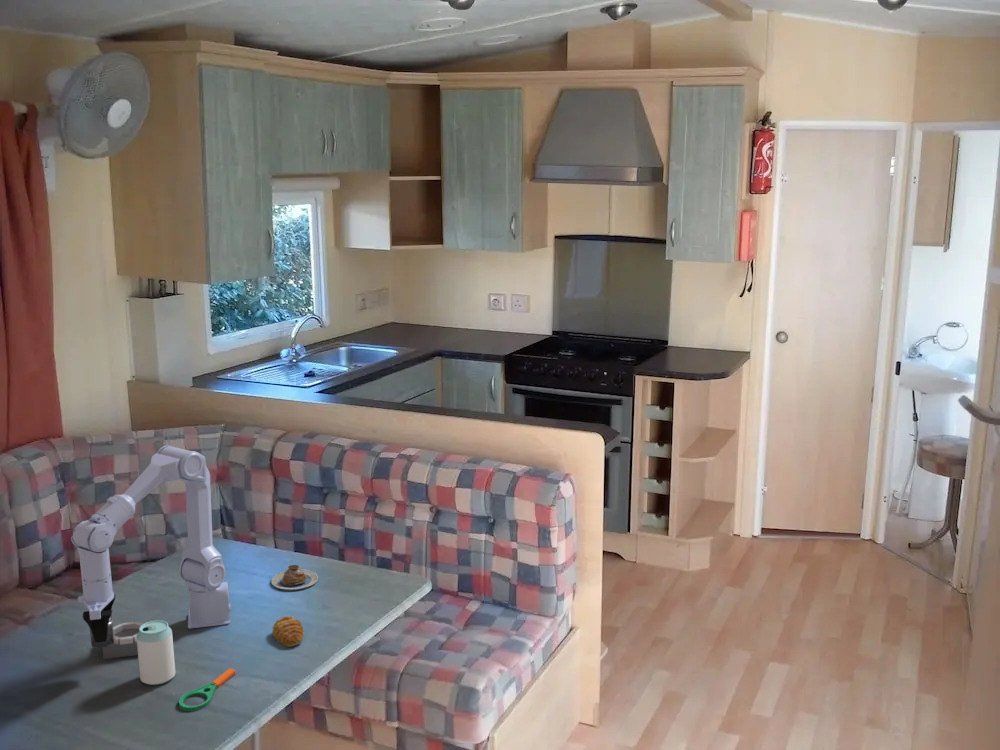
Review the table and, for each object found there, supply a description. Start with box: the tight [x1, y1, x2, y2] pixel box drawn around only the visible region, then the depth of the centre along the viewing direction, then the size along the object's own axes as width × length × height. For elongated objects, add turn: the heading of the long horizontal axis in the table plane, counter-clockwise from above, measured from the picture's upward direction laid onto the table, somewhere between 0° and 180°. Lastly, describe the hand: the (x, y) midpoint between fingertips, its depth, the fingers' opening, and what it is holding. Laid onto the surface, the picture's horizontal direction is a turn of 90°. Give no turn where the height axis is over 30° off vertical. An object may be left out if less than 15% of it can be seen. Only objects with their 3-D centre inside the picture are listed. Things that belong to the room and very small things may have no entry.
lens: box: [88, 613, 114, 649], centre depth 206 cm, size 5×5×6 cm
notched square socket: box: [101, 621, 144, 660], centre depth 218 cm, size 10×8×4 cm
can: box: [137, 620, 176, 686], centre depth 204 cm, size 7×7×12 cm
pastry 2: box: [270, 564, 319, 592], centre depth 251 cm, size 12×12×5 cm
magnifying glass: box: [178, 667, 236, 712], centre depth 200 cm, size 15×6×2 cm, turn 157°
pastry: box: [272, 615, 305, 648], centre depth 222 cm, size 9×7×4 cm
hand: (102, 635), depth 206 cm, fingers closed on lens, 5 cm apart
